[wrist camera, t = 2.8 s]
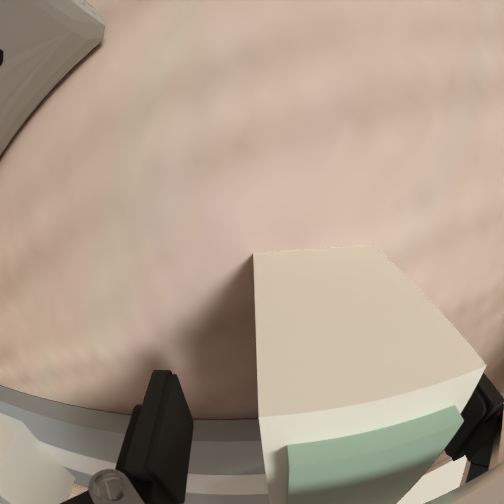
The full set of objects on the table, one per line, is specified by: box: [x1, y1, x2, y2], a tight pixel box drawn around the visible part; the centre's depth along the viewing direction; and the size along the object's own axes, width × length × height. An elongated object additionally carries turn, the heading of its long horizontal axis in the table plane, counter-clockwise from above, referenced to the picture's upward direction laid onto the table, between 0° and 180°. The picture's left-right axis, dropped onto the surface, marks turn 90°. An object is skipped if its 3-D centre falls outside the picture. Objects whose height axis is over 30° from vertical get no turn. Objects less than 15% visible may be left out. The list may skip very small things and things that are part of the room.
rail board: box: [0, 386, 270, 504], centre depth 16 cm, size 28×13×2 cm, turn 95°
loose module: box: [253, 244, 487, 504], centre depth 9 cm, size 4×8×8 cm, turn 5°
